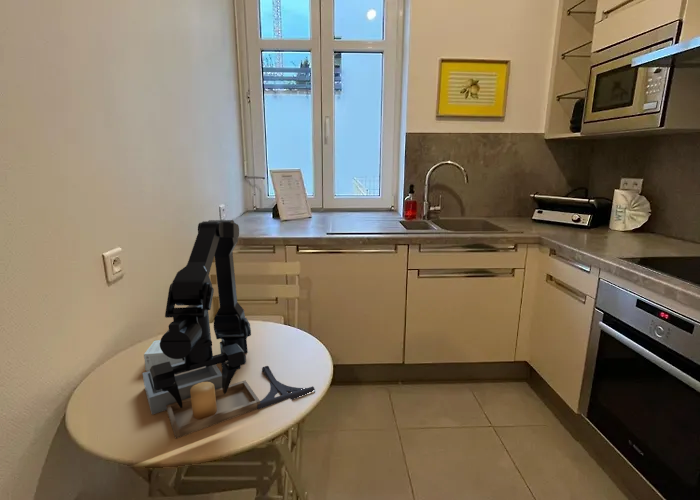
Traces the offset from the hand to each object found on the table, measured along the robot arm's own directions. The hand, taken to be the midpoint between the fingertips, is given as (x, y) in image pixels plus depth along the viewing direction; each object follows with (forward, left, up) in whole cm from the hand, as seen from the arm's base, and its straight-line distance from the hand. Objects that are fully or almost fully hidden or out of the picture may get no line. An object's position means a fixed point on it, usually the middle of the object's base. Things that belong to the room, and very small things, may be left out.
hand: (203, 399), depth 88 cm
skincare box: (+7, -31, -1) cm, 31 cm away
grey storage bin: (+2, -12, -4) cm, 13 cm away
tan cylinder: (0, 0, -3) cm, 3 cm away
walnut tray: (-2, 0, -4) cm, 5 cm away
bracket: (-18, -2, -5) cm, 18 cm away
